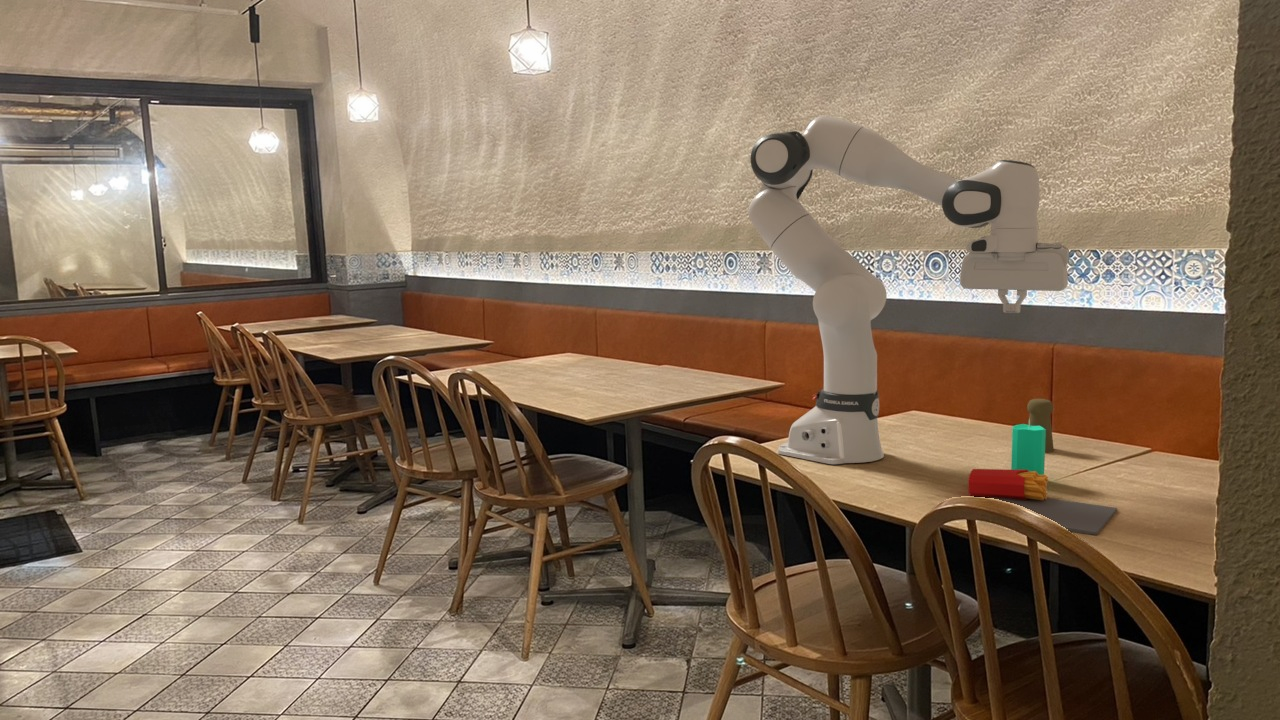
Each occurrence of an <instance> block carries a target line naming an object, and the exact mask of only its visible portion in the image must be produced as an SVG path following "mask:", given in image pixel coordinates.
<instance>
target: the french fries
mask: <svg viewBox="0 0 1280 720" xmlns="http://www.w3.org/2000/svg"><path fill="white" fill-rule="evenodd" d="M1048 482H1049V479H1048V476H1047V475H1046V474H1044V475H1039V474H1038V473H1037V472H1036V471H1028V470H1011V469H1001V468H1000V469H999V468H997V469H996V468H995V469H994V468H993V469H992V468H988V469H987V468H972V469H971V471H970V473H968V482H967V483H968V493H969V496H970V497H978V496H982V498H990V497H1001V498H1011V499H1022V500H1026V498H1029V499H1037V500H1044V499H1046V498H1048V496H1047V495H1048V493H1047V492H1048V490H1047V487H1049V486H1048Z"/></svg>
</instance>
